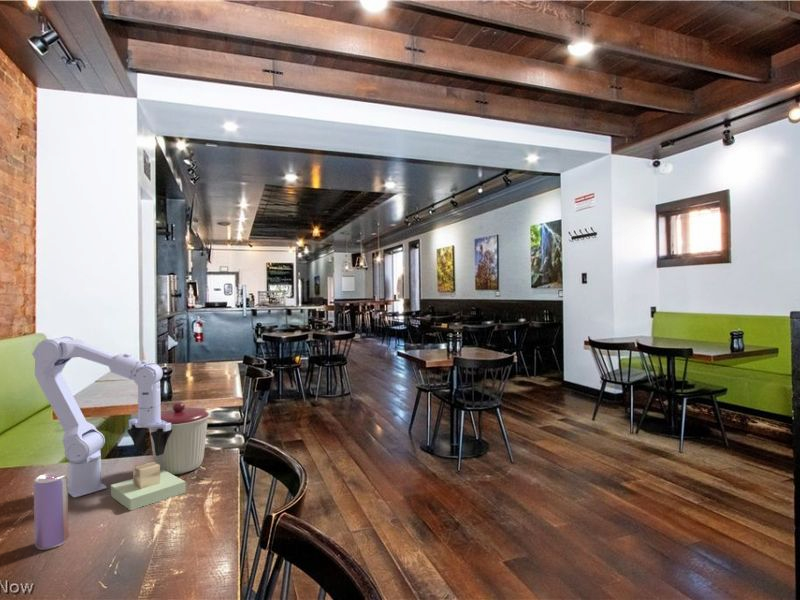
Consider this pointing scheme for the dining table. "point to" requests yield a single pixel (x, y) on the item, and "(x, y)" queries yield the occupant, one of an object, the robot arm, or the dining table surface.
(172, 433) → the canister
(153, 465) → the maple block
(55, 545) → the beverage can
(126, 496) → the green plinth
